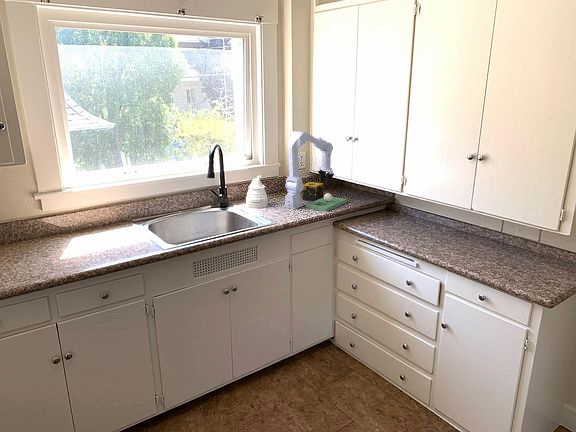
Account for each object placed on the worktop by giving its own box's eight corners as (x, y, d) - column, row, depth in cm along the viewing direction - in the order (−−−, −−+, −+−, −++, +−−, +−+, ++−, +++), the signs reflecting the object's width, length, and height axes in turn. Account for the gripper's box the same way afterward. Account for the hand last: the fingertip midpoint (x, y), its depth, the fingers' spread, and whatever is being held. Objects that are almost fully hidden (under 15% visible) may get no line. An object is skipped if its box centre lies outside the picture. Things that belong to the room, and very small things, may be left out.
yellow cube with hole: (323, 198, 273) (324, 183, 270) (316, 202, 265) (316, 186, 262) (309, 196, 278) (309, 181, 275) (301, 200, 270) (301, 184, 267)
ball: (329, 202, 255) (329, 194, 254) (322, 201, 258) (322, 193, 257) (333, 201, 259) (333, 193, 258) (326, 199, 262) (326, 191, 261)
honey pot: (269, 202, 264) (268, 174, 259) (265, 208, 252) (265, 178, 247) (248, 202, 266) (247, 173, 260) (244, 208, 253) (243, 178, 248)
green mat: (326, 211, 245) (326, 208, 245) (306, 207, 253) (306, 204, 253) (346, 202, 264) (346, 199, 263) (327, 198, 272) (327, 195, 271)
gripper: (337, 163, 262) (336, 184, 266) (325, 159, 275) (325, 180, 279) (327, 163, 260) (327, 185, 264) (316, 160, 272) (315, 181, 276)
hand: (325, 182), depth 271 cm, fingers open, 7 cm apart
